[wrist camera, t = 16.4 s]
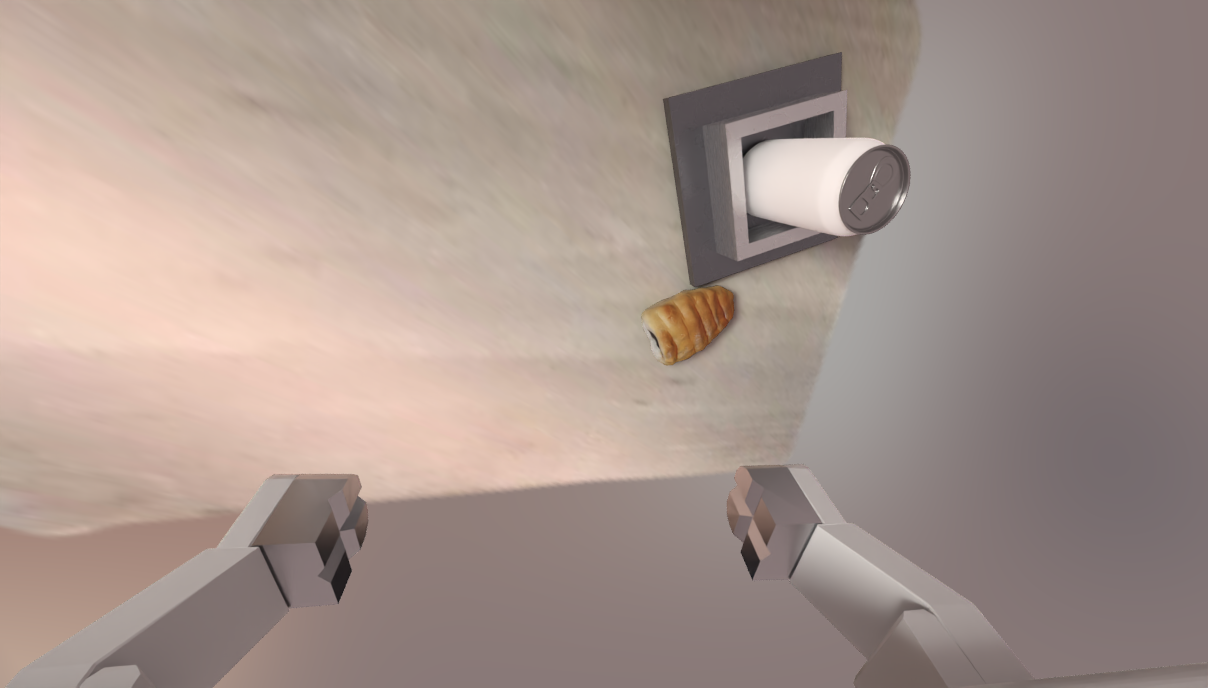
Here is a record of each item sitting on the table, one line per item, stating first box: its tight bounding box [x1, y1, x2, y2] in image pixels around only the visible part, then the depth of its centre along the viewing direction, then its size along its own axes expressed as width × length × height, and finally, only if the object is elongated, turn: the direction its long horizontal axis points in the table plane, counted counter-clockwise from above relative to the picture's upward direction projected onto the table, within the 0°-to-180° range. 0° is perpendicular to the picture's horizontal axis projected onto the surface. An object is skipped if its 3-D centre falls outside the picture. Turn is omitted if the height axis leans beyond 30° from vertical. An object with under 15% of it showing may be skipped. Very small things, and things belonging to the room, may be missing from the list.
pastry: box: [641, 285, 734, 365], centre depth 42 cm, size 9×7×4 cm
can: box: [743, 138, 910, 236], centre depth 34 cm, size 6×6×12 cm
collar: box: [663, 52, 847, 287], centre depth 38 cm, size 16×16×4 cm
